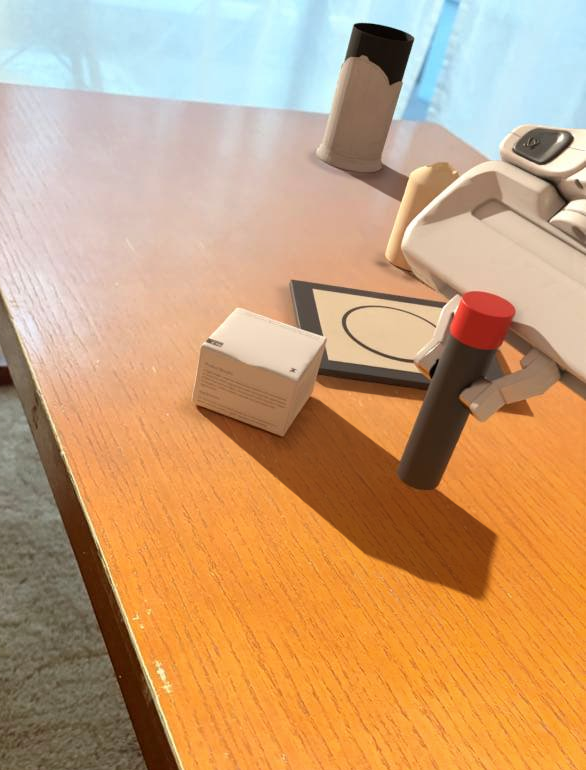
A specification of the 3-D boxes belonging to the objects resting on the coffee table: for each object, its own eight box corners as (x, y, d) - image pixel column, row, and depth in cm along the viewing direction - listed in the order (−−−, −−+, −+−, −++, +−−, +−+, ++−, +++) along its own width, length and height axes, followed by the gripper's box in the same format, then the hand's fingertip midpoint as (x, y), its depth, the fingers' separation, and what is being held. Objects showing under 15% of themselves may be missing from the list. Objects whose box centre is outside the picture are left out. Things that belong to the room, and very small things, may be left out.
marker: (435, 465, 58) (507, 294, 50) (445, 494, 56) (522, 320, 48) (391, 460, 58) (456, 287, 50) (399, 489, 56) (469, 313, 48)
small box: (314, 393, 71) (331, 336, 68) (282, 440, 66) (299, 381, 62) (225, 360, 73) (237, 303, 70) (187, 404, 67) (198, 344, 64)
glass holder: (304, 154, 115) (335, 25, 105) (352, 135, 124) (384, 14, 114) (364, 177, 112) (402, 46, 102) (408, 155, 121) (447, 33, 112)
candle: (397, 244, 97) (428, 151, 91) (443, 263, 95) (478, 169, 89) (375, 258, 94) (406, 161, 87) (423, 278, 92) (458, 181, 85)
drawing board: (467, 311, 87) (470, 304, 87) (512, 401, 75) (515, 394, 75) (289, 284, 86) (290, 277, 85) (305, 372, 74) (307, 365, 73)
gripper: (796, 341, 46) (585, 522, 48) (521, 184, 59) (363, 334, 61) (799, 269, 41) (564, 473, 44) (498, 114, 54) (327, 279, 56)
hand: (445, 391), depth 52 cm, fingers closed on marker, 3 cm apart
